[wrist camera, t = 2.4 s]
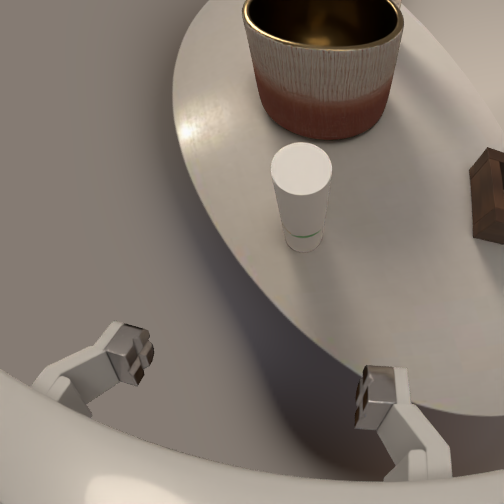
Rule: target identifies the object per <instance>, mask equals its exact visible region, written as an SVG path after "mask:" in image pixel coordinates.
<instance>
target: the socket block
mask: <svg viewBox="0 0 504 504" xmlns="http://www.w3.org/2000/svg"><path fill="white" fill-rule="evenodd" d="M469 173H470V184H471V197H472V216H473V238H478V239H482V240H487V241H491V242H495V243H500V244H504V191H503V190H504V153H503V152H500V151H497V150H494V149H491V148H488V147H487V149H486V150H485V151H484V152H483V154H482V155H481V156H480V157H479V159H478V160H477V161H476V162H475V164H474V165H473V166H472V167H471V168H470V170H469Z"/></svg>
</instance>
